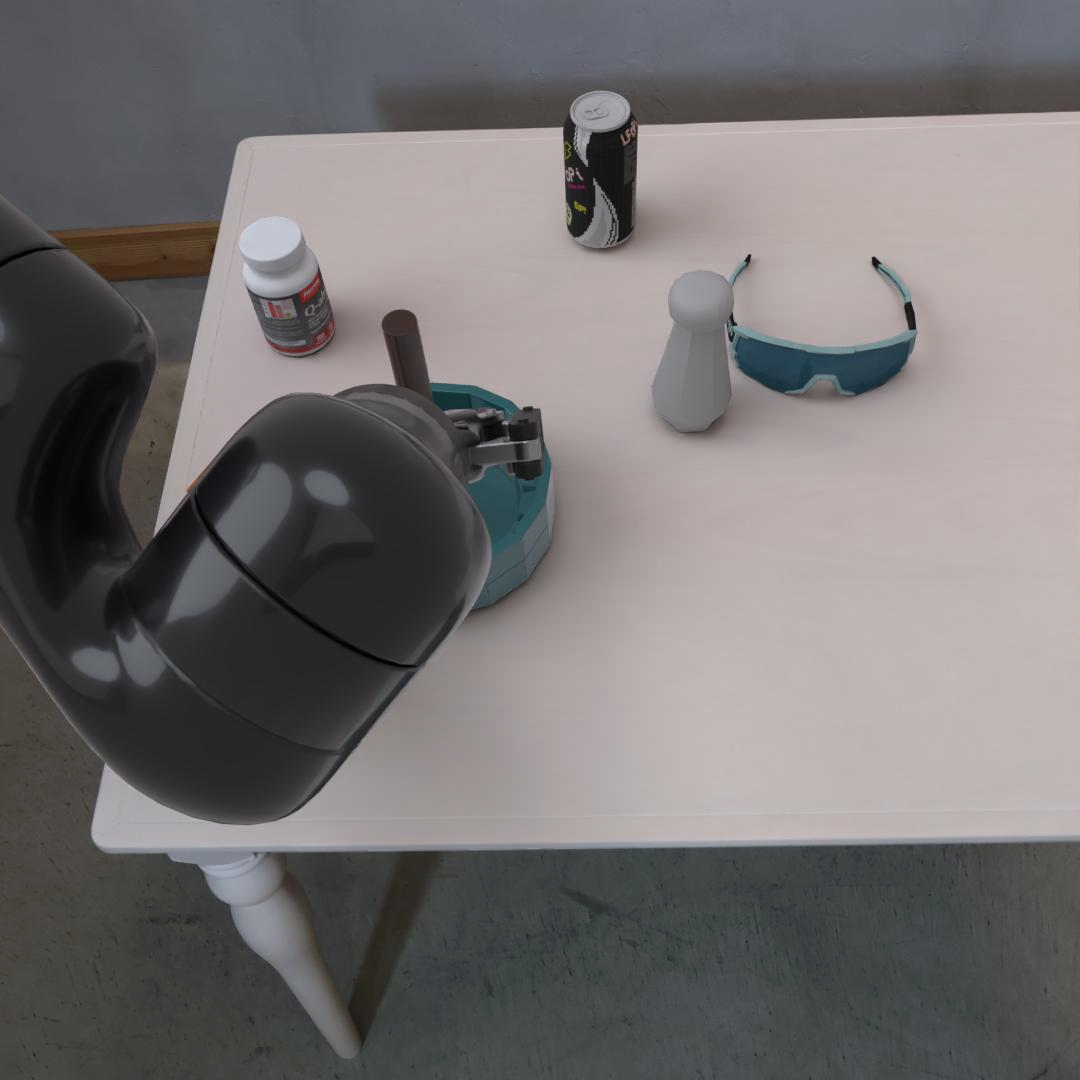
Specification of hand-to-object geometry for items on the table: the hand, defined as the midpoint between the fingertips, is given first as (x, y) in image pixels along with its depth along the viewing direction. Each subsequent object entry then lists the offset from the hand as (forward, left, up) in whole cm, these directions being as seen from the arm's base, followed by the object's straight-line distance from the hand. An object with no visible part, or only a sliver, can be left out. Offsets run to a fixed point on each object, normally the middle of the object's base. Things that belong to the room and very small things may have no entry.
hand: (405, 436), depth 59 cm
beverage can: (-8, +37, -20) cm, 43 cm away
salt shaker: (+7, +23, -20) cm, 31 cm away
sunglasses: (+12, +35, -20) cm, 42 cm away
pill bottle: (-24, +16, -20) cm, 35 cm away
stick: (-4, +6, -19) cm, 21 cm away
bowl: (-4, +6, -20) cm, 21 cm away
